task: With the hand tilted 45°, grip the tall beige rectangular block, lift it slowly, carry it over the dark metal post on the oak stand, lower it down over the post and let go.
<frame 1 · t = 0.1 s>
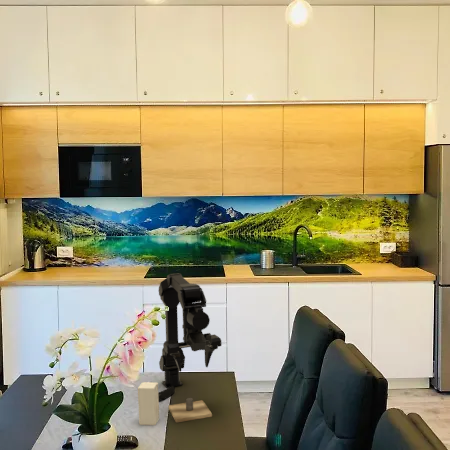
hand: (193, 369, 182), 15 cm above the table, tool pointing down, fingers open, 9 cm apart
beige rectangular block: (149, 421, 176), on the table
post stand: (189, 412, 182), on the table
electric trimmer: (158, 401, 194), on the table
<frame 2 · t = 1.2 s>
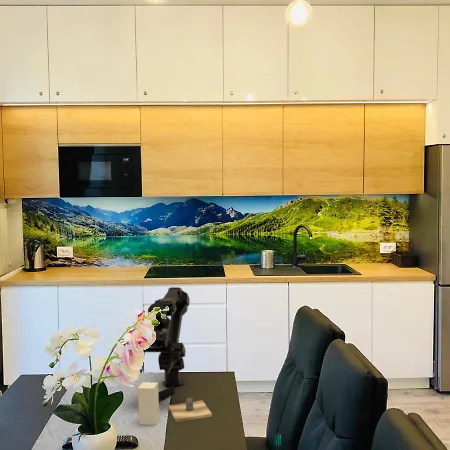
hand: (154, 372, 183), 13 cm above the table, tool tilted 45°, fingers open, 9 cm apart
nothing on the table moved.
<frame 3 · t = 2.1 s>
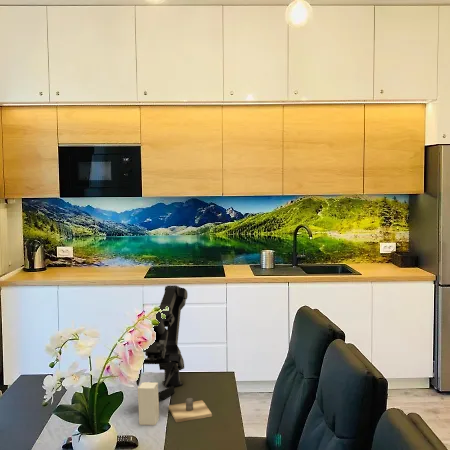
hand: (151, 385, 179), 11 cm above the table, tool tilted 45°, fingers open, 9 cm apart
nothing on the table moved.
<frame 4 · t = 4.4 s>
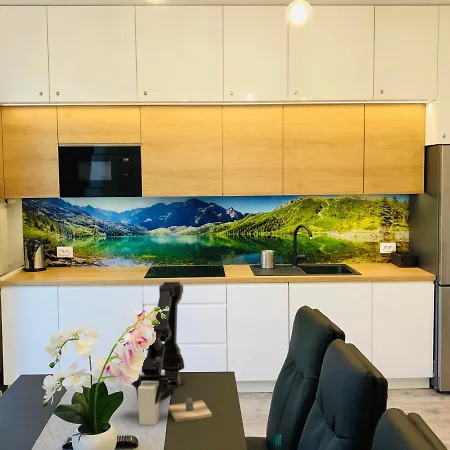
hand: (147, 403, 174), 7 cm above the table, tool tilted 45°, fingers closed on beige rectangular block, 5 cm apart
beige rectangular block: (149, 421, 176), on the table, touching gripper
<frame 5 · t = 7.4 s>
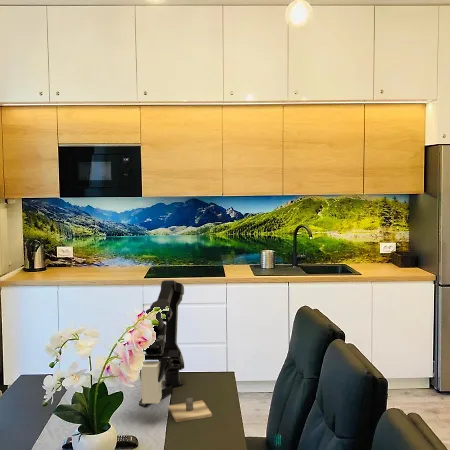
hand: (150, 381, 174), 14 cm above the table, tool tilted 45°, fingers closed on beige rectangular block, 5 cm apart
beige rectangular block: (152, 400, 176), point 7 cm above the table, touching gripper
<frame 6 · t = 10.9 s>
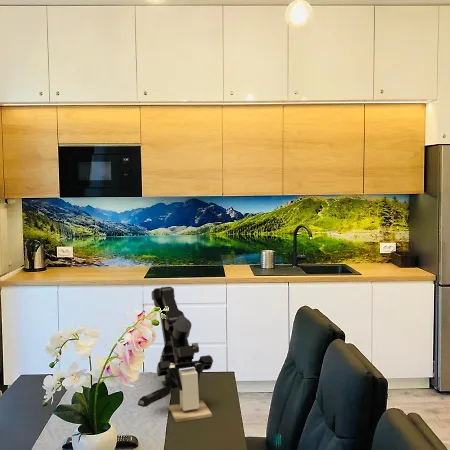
hand: (189, 388, 180), 9 cm above the table, tool tilted 45°, fingers closed on beige rectangular block, 5 cm apart
beige rectangular block: (189, 406, 182), point 2 cm above the table, touching gripper
when the fingers open (9 cm above the table, at t = 11.5 s): beige rectangular block stays where it is, resting on post stand.
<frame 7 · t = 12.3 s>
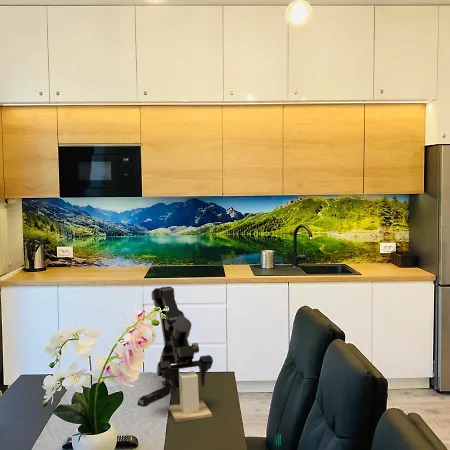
hand: (189, 388, 180), 9 cm above the table, tool tilted 45°, fingers open, 9 cm apart
beige rectangular block: (189, 409, 182), point 1 cm above the table, touching post stand
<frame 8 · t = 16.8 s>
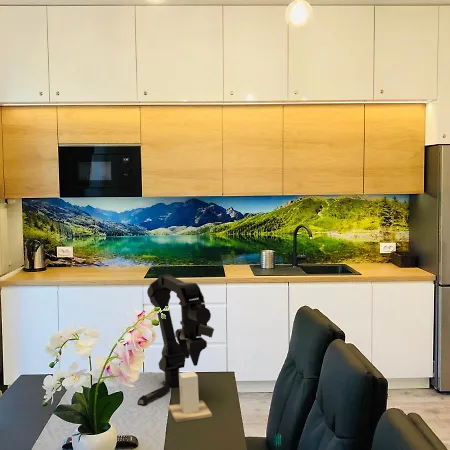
hand: (191, 361, 194), 13 cm above the table, tool pointing down, fingers open, 9 cm apart
at the end: beige rectangular block 0.0 cm from the post stand (horizontally); beige rectangular block point 1.0 cm above the table; beige rectangular block tilted 0° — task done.
